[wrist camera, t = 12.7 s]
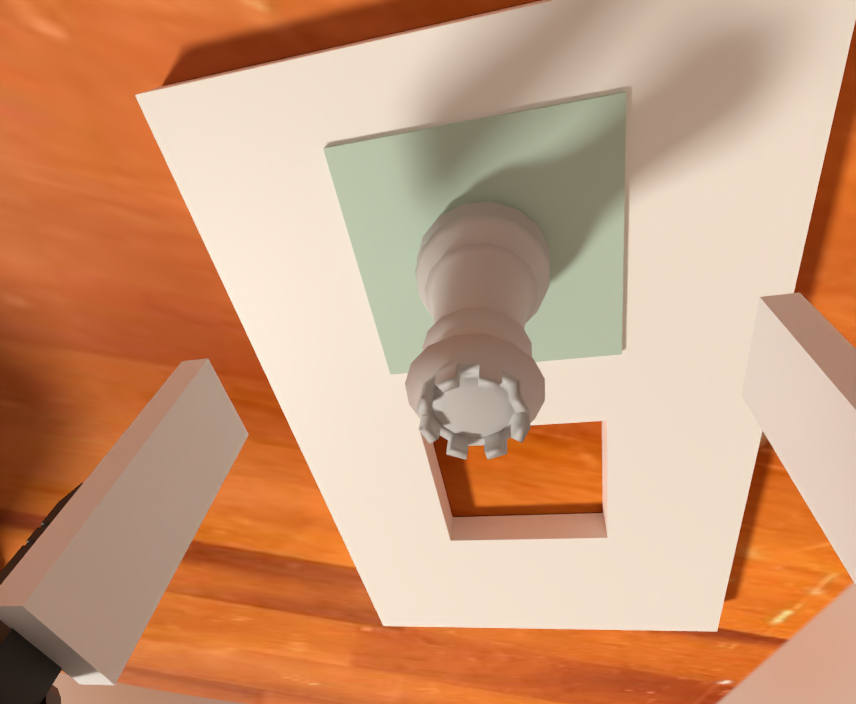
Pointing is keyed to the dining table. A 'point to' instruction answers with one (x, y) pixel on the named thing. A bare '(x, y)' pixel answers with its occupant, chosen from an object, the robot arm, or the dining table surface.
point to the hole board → (568, 280)
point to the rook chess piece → (479, 328)
